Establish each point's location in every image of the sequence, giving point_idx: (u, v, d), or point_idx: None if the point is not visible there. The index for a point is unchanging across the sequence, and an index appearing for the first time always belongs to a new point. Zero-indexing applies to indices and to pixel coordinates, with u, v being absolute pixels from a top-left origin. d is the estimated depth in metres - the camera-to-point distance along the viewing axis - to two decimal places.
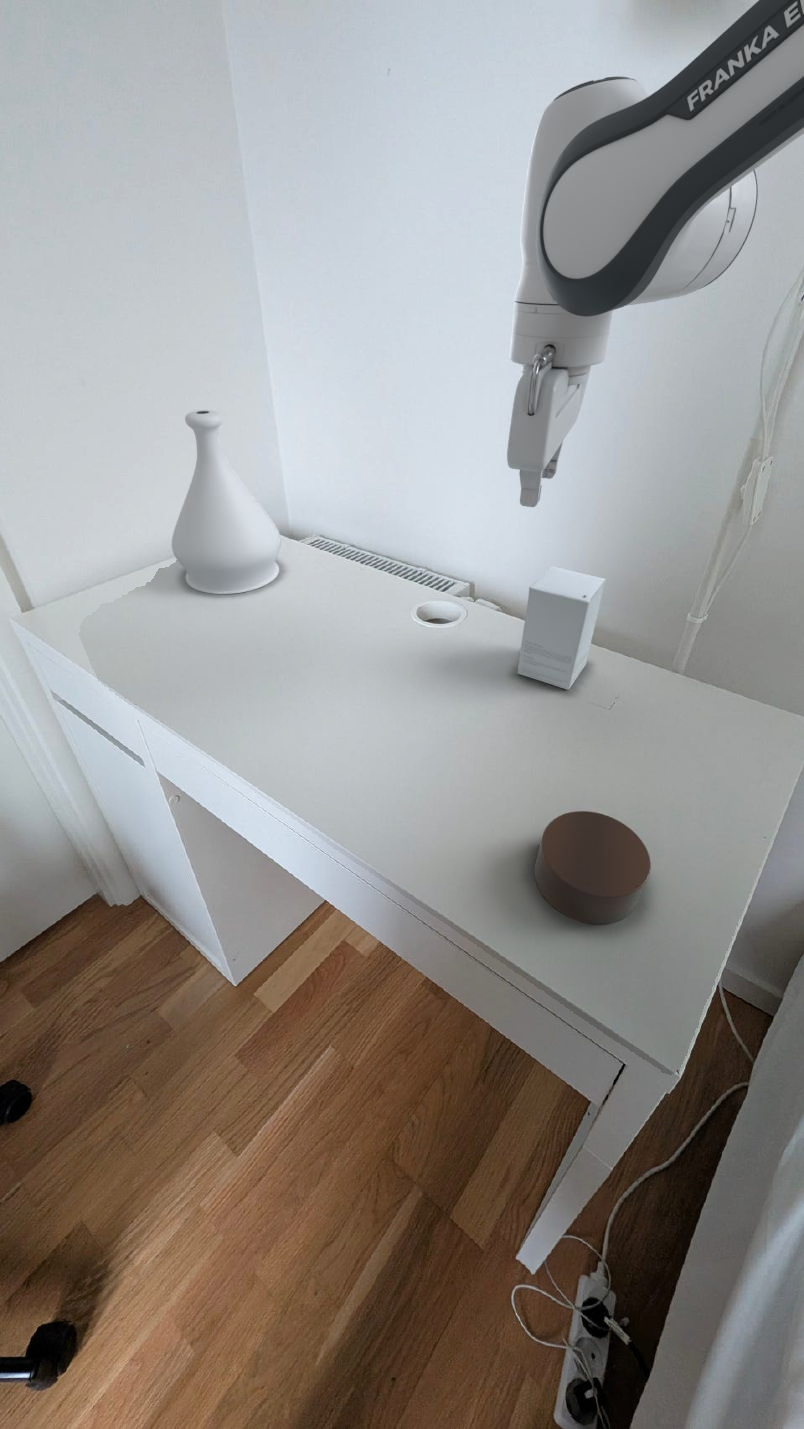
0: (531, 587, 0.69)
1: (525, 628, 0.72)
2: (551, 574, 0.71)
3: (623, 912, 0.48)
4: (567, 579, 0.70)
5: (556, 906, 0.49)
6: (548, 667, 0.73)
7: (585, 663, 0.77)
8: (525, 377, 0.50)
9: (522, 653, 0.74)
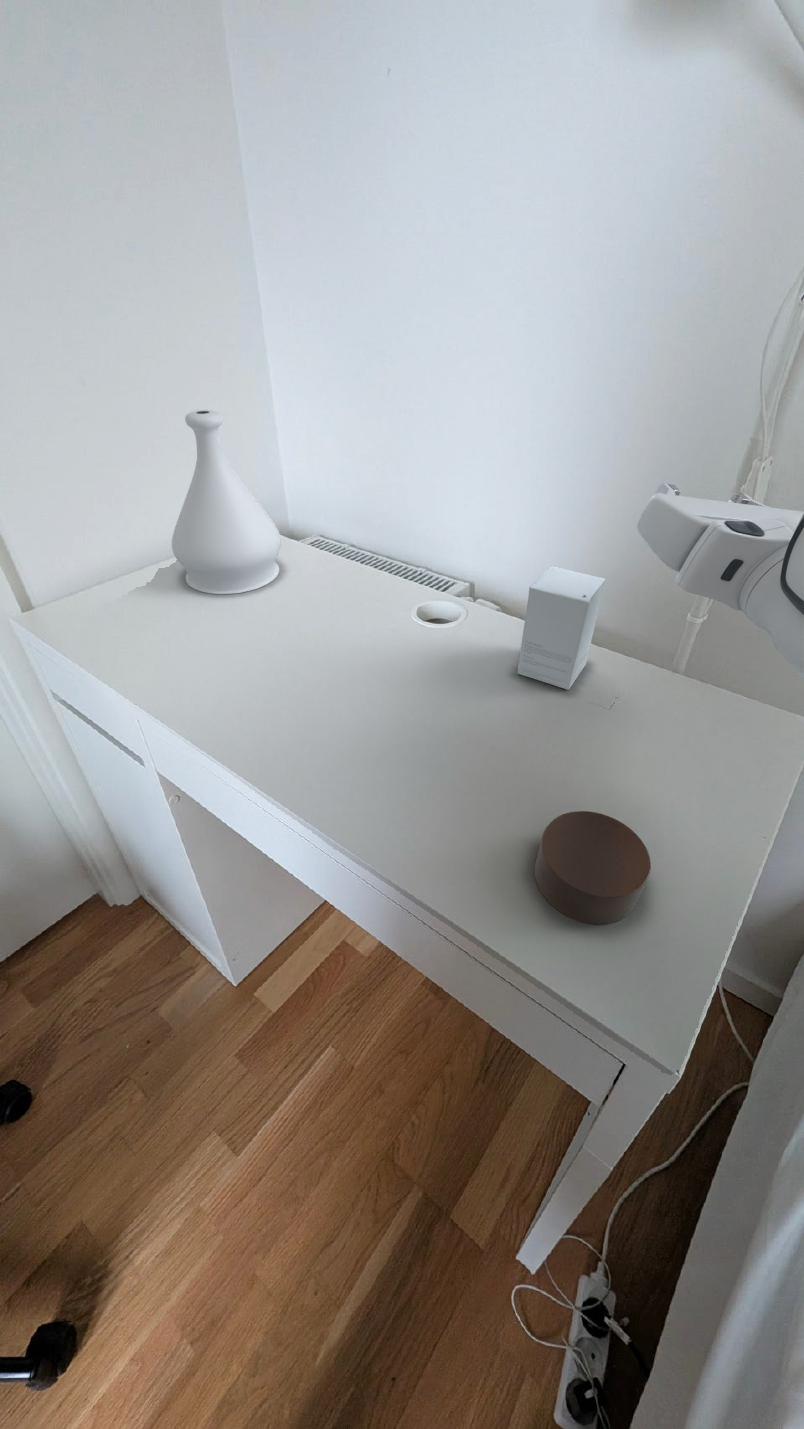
0: (531, 587, 0.69)
1: (525, 628, 0.72)
2: (551, 574, 0.71)
3: (623, 912, 0.48)
4: (567, 579, 0.70)
5: (556, 906, 0.49)
6: (548, 666, 0.73)
7: (585, 663, 0.77)
8: None
9: (522, 653, 0.74)
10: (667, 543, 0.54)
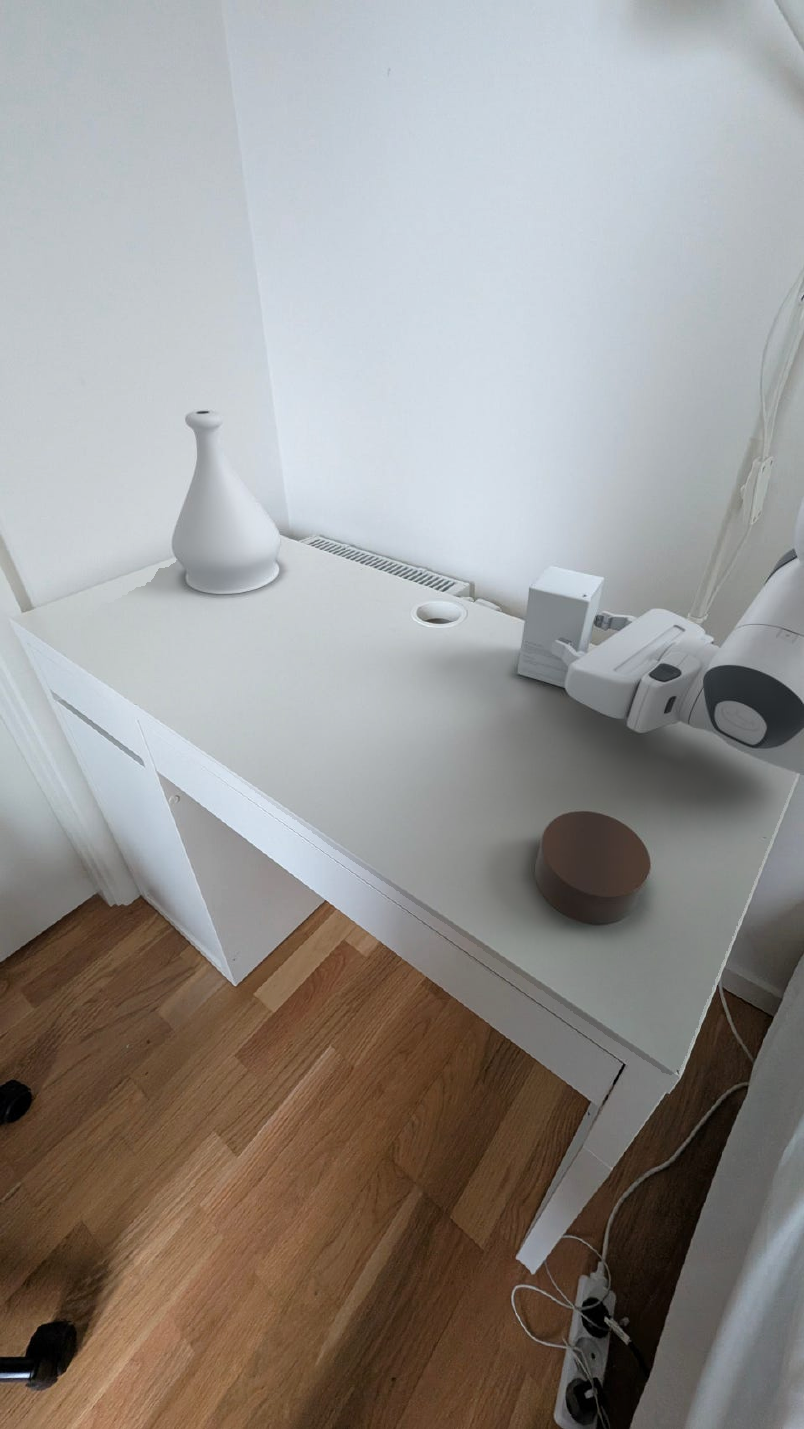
0: (531, 587, 0.69)
1: (525, 628, 0.72)
2: (550, 574, 0.71)
3: (623, 912, 0.48)
4: (566, 578, 0.70)
5: (556, 906, 0.49)
6: (549, 666, 0.73)
7: None
8: None
9: (522, 653, 0.74)
10: (608, 703, 0.61)
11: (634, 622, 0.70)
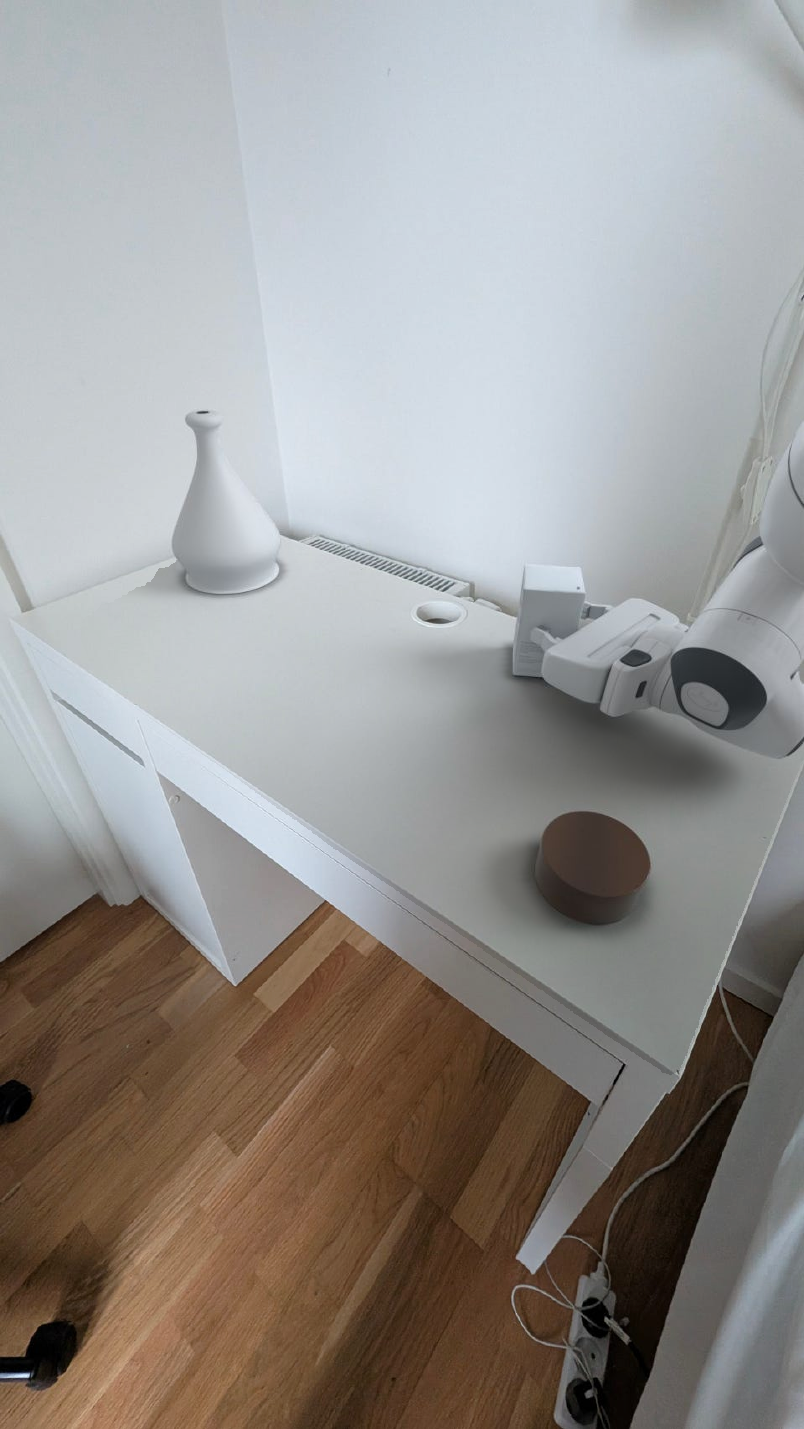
0: (525, 588, 0.69)
1: (520, 629, 0.72)
2: (532, 572, 0.72)
3: (623, 912, 0.48)
4: (550, 574, 0.71)
5: (556, 906, 0.49)
6: None
7: None
8: None
9: (517, 654, 0.74)
10: (582, 688, 0.63)
11: (611, 611, 0.72)
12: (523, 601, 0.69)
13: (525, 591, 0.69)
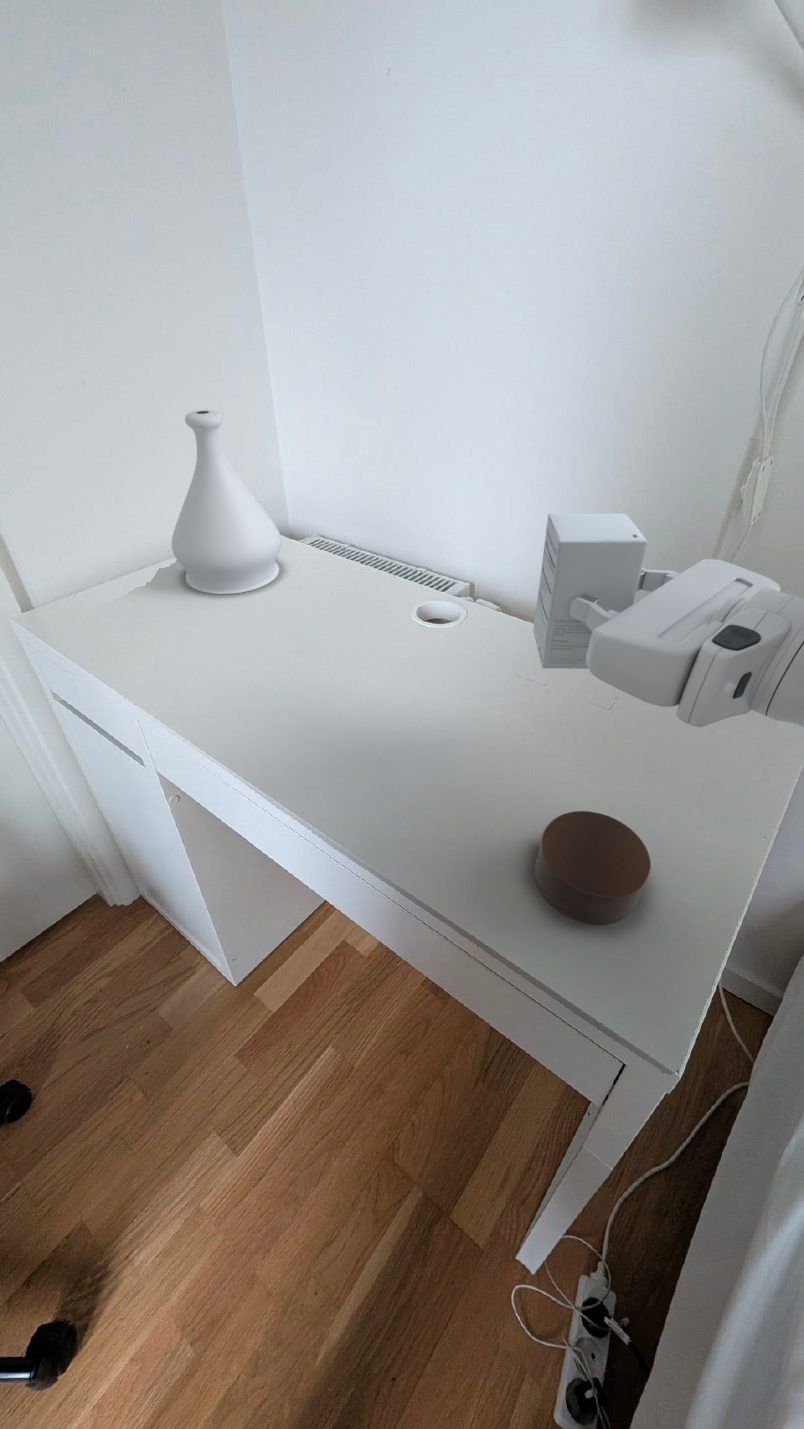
0: (561, 541, 0.48)
1: (554, 602, 0.51)
2: (563, 522, 0.51)
3: (623, 912, 0.48)
4: (588, 522, 0.51)
5: (556, 906, 0.49)
6: None
7: None
8: None
9: (550, 638, 0.53)
10: (650, 684, 0.42)
11: (680, 575, 0.51)
12: (558, 560, 0.49)
13: (561, 545, 0.48)
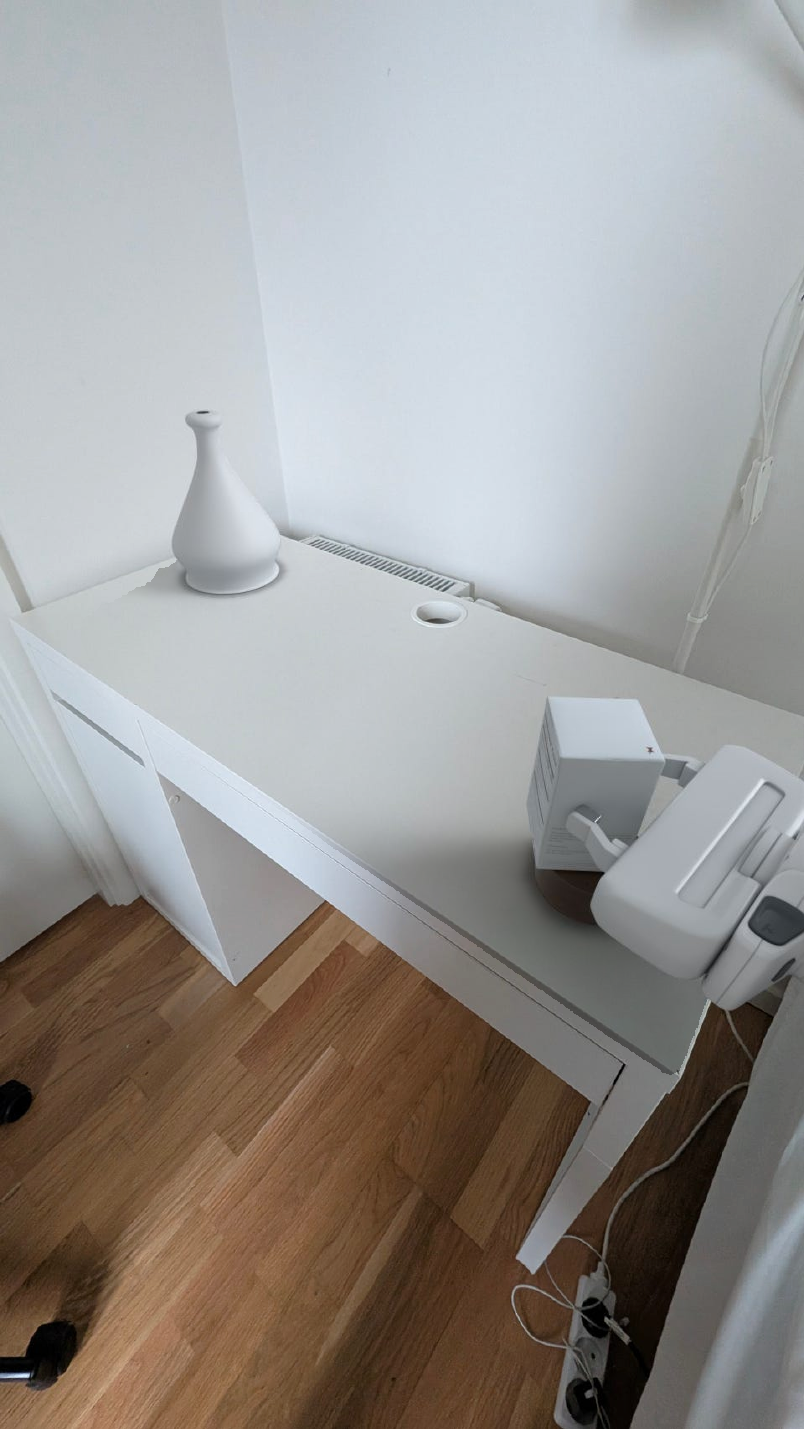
0: (562, 755, 0.40)
1: (551, 812, 0.43)
2: (565, 716, 0.43)
3: None
4: (594, 719, 0.43)
5: (556, 906, 0.49)
6: None
7: None
8: None
9: (546, 843, 0.45)
10: (670, 959, 0.34)
11: (700, 776, 0.43)
12: (558, 774, 0.41)
13: (562, 760, 0.40)
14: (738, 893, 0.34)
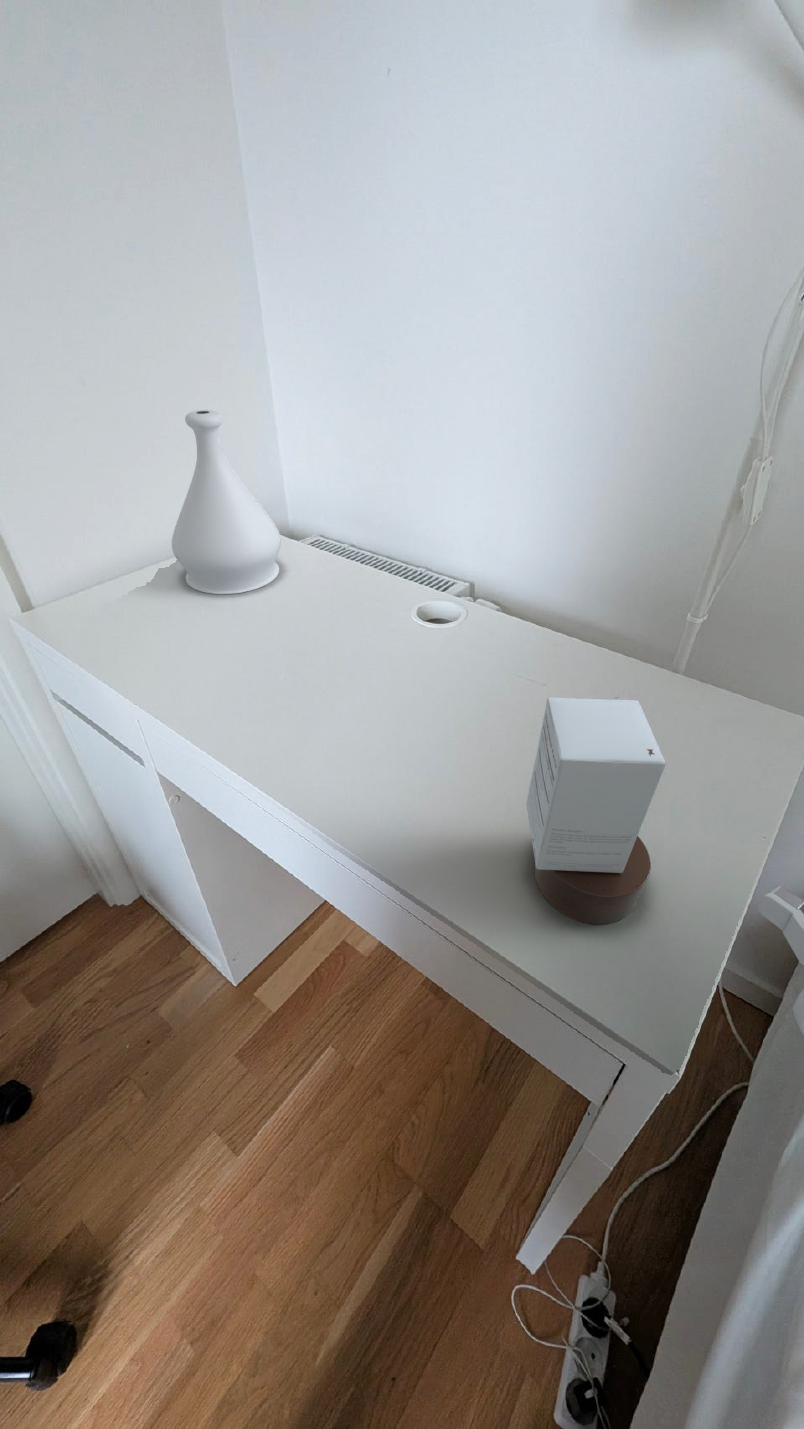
0: (562, 758, 0.40)
1: (551, 813, 0.43)
2: (566, 717, 0.43)
3: (623, 912, 0.48)
4: (595, 720, 0.43)
5: (556, 906, 0.49)
6: (592, 853, 0.46)
7: None
8: None
9: (546, 844, 0.45)
10: None
11: None
12: (559, 776, 0.41)
13: (563, 762, 0.40)
14: None
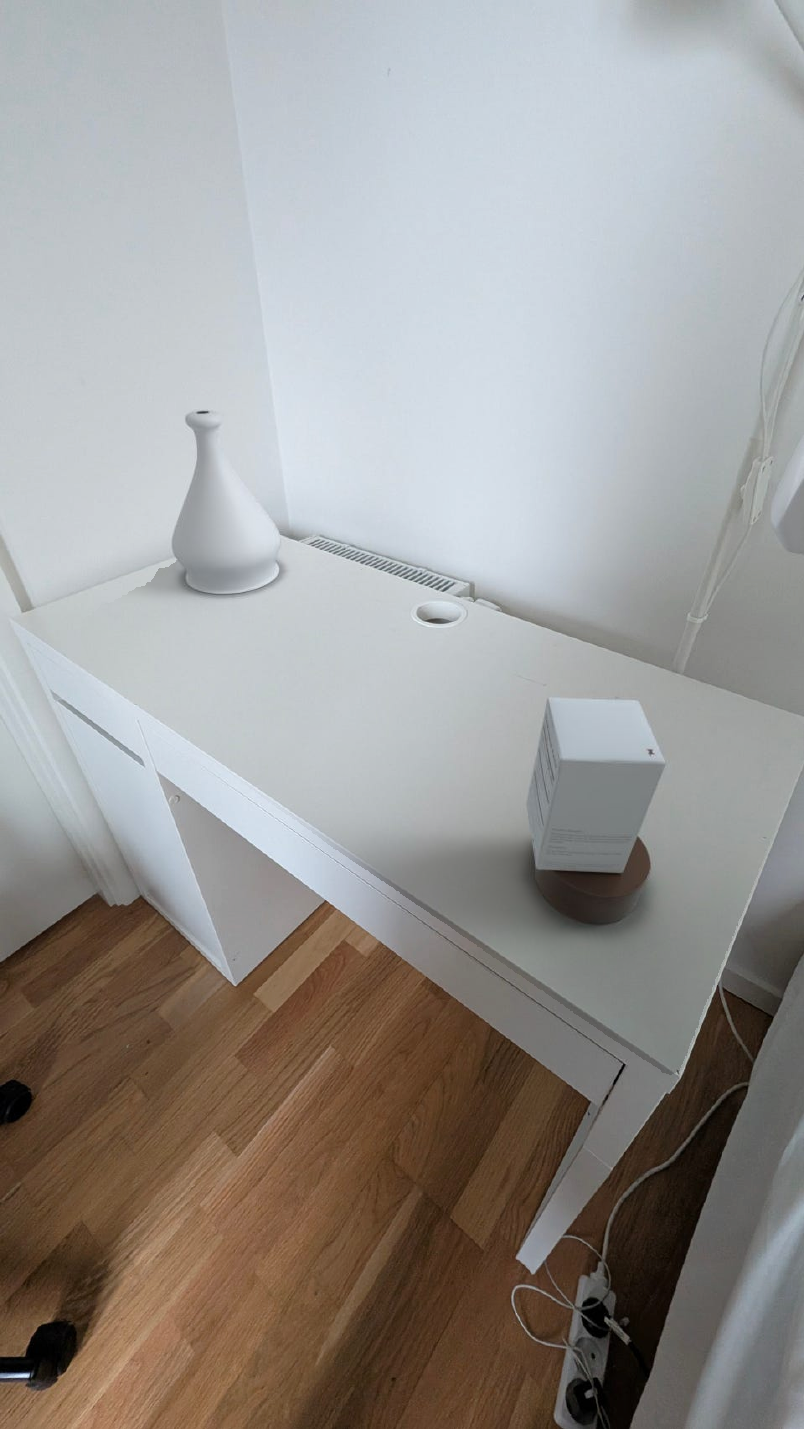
0: (562, 758, 0.40)
1: (551, 813, 0.43)
2: (566, 717, 0.43)
3: (623, 912, 0.48)
4: (595, 720, 0.43)
5: (556, 906, 0.49)
6: (592, 853, 0.46)
7: None
8: None
9: (546, 844, 0.45)
10: None
11: None
12: (559, 776, 0.41)
13: (563, 762, 0.40)
14: None
